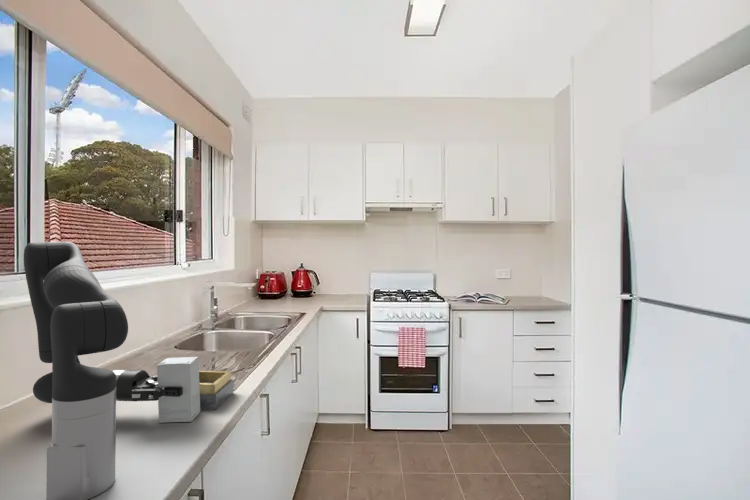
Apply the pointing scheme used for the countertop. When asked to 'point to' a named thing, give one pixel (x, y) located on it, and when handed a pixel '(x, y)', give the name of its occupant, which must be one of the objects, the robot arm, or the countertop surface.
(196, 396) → the skincare box
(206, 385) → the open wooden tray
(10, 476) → the countertop surface
